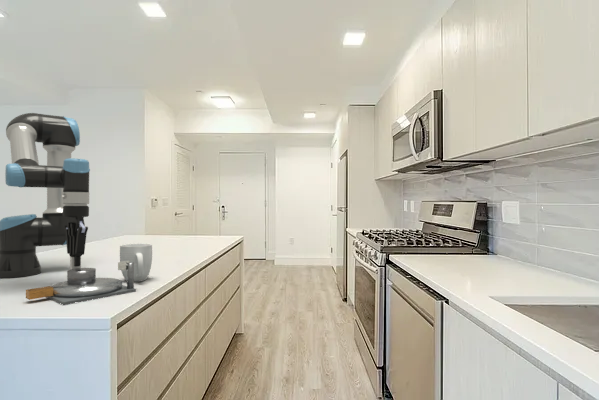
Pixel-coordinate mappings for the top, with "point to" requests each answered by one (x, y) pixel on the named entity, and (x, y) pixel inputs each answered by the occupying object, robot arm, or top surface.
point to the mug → (137, 259)
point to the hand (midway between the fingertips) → (75, 275)
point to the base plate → (84, 298)
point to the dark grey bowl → (81, 276)
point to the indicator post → (128, 272)
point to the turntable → (75, 289)
